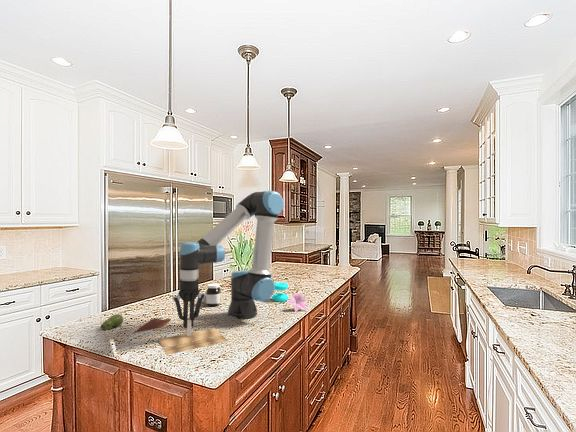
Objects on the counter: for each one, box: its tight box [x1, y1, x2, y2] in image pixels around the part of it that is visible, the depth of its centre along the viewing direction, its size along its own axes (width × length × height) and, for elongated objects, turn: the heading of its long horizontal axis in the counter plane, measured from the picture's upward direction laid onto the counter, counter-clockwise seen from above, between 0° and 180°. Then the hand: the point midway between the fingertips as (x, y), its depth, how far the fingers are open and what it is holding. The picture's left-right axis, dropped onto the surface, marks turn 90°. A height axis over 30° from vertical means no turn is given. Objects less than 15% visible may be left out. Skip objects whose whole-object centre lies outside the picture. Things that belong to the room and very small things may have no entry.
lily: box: [286, 290, 309, 313], centre depth 179 cm, size 12×12×10 cm
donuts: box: [271, 281, 289, 302], centre depth 199 cm, size 10×10×10 cm
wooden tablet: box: [132, 317, 172, 334], centre depth 148 cm, size 27×10×2 cm, turn 175°
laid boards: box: [162, 334, 229, 356], centre depth 128 cm, size 24×7×1 cm, turn 123°
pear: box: [100, 313, 124, 331], centre depth 151 cm, size 6×5×10 cm
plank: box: [158, 327, 222, 349], centre depth 135 cm, size 24×8×1 cm, turn 123°
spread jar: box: [202, 282, 222, 307], centre depth 189 cm, size 12×11×12 cm
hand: (188, 334), depth 136 cm, fingers closed
